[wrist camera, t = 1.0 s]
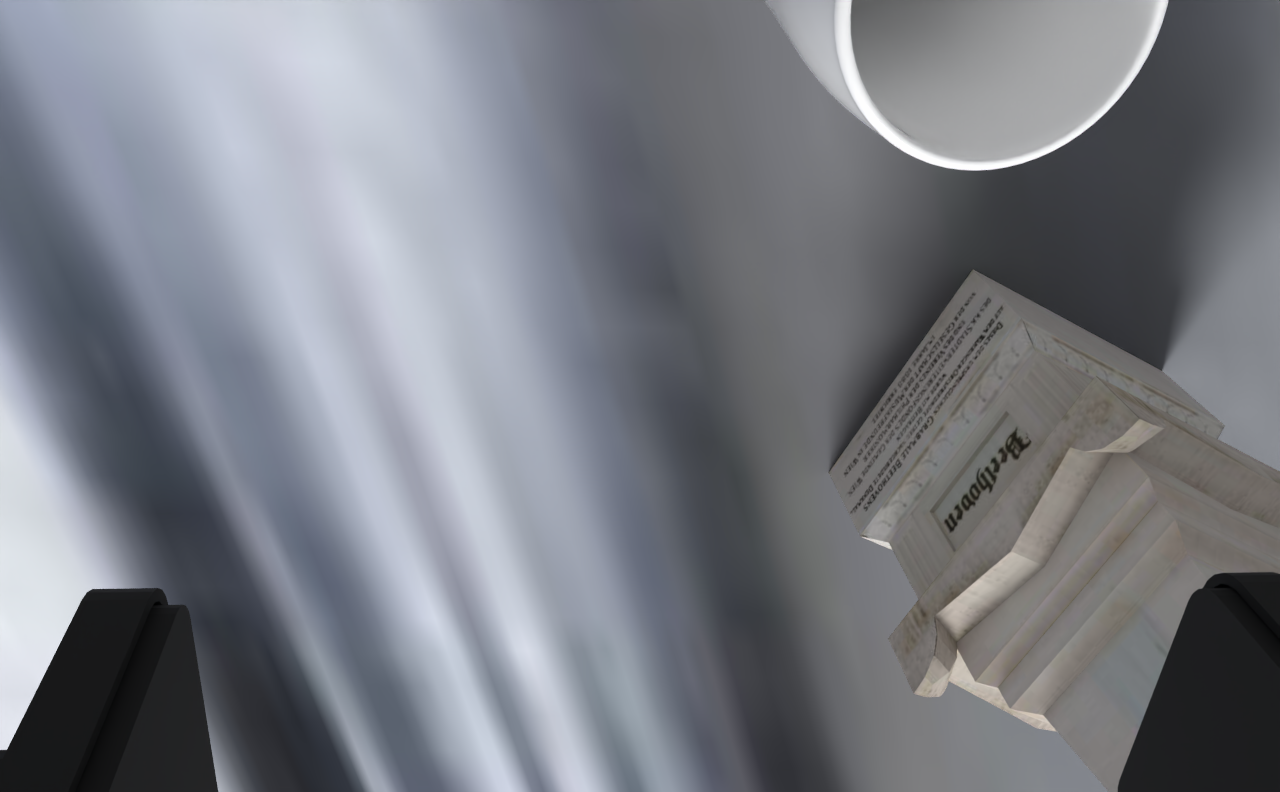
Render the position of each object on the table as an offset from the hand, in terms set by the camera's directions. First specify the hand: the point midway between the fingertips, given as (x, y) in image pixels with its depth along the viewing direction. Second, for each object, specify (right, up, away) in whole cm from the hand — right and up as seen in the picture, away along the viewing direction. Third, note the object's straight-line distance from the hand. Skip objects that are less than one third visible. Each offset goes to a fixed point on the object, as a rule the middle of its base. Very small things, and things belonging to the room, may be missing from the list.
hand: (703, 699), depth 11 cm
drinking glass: (+5, +17, +24) cm, 30 cm away
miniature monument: (+13, +2, +34) cm, 36 cm away
